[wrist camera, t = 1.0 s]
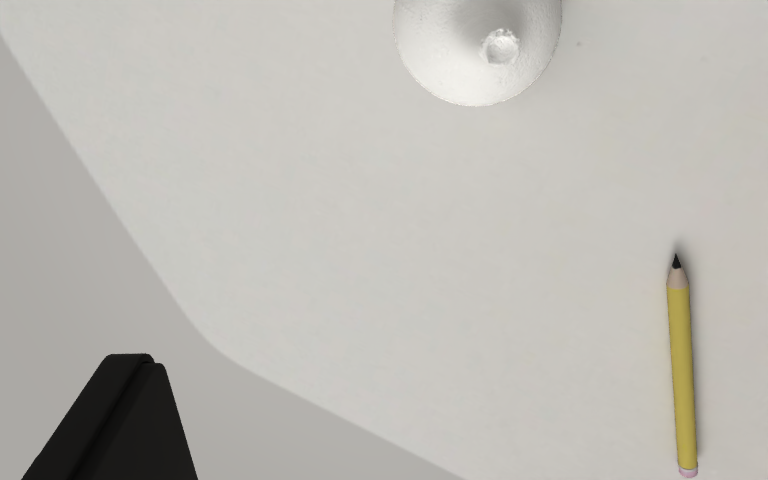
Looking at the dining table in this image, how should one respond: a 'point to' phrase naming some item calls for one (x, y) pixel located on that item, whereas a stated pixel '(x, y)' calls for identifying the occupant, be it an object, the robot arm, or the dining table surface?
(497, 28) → the garlic bulb
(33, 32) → the dining table surface
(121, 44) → the dining table surface
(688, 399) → the pencil
